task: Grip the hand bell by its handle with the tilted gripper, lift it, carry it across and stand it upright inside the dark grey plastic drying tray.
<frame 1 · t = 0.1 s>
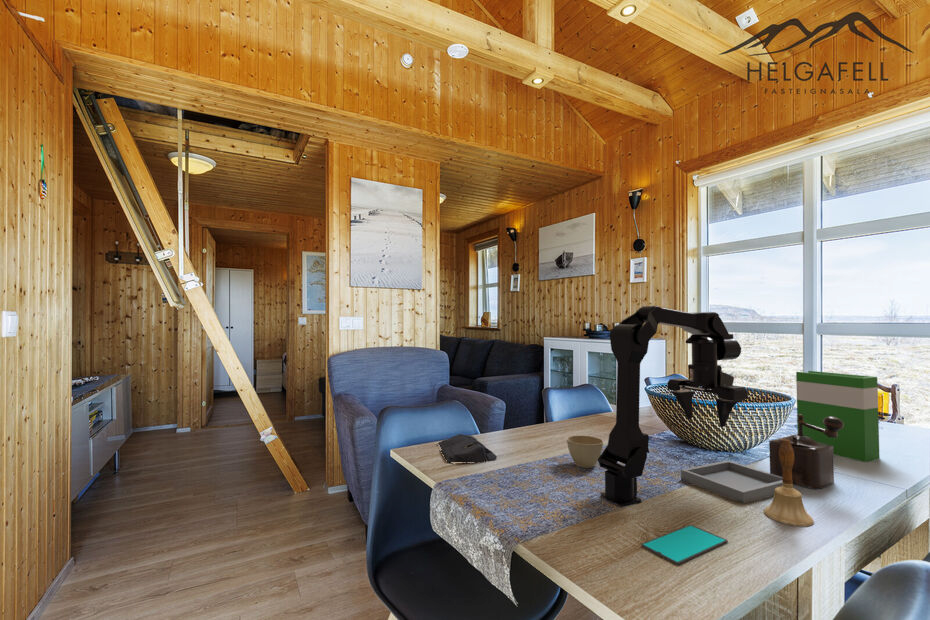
hand: (705, 422, 110), 15 cm above the table, tool pointing down, fingers open, 9 cm apart
drying tray: (734, 484, 107), on the table
hand bell: (788, 518, 89), on the table
dark slate chunk: (464, 454, 134), on the table
manual coffee grinder: (812, 484, 108), on the table
smartphone: (684, 547, 78), on the table
flower pot: (585, 465, 122), on the table
hardback book: (836, 452, 133), on the table
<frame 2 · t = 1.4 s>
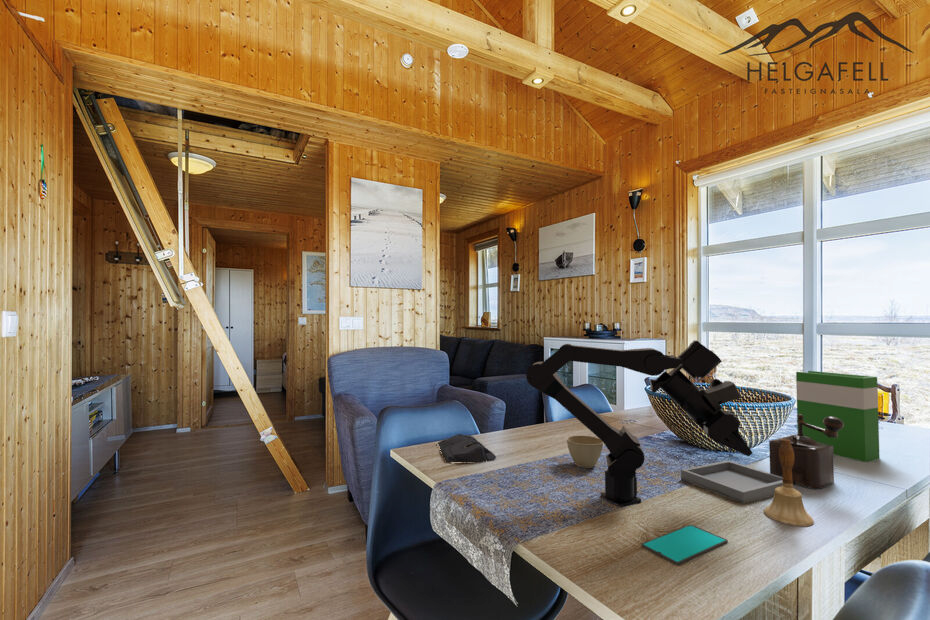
hand: (742, 448, 92), 13 cm above the table, tool tilted 45°, fingers open, 9 cm apart
nothing on the table moved.
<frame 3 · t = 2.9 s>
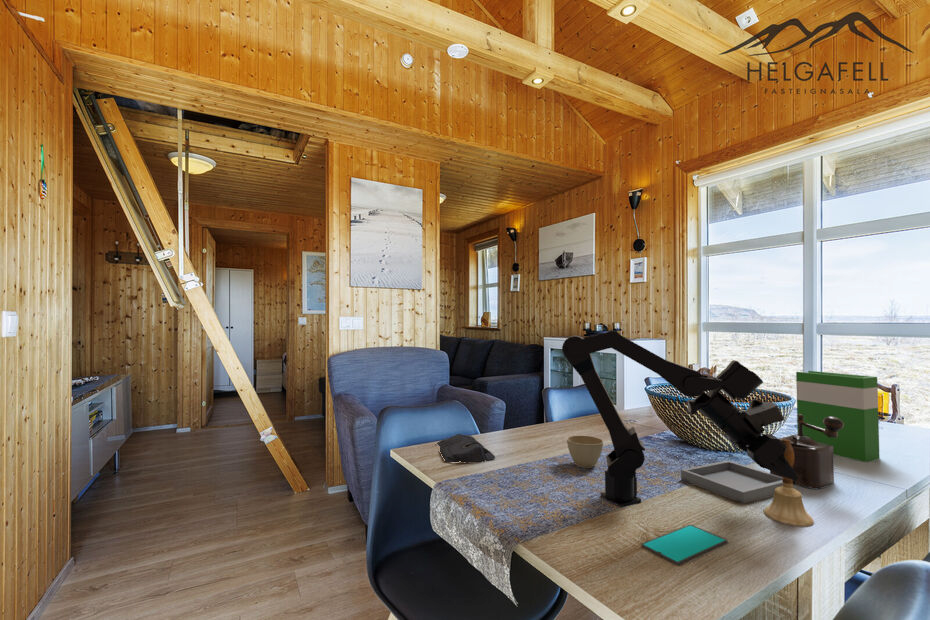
hand: (786, 471, 89), 9 cm above the table, tool tilted 45°, fingers open, 9 cm apart
nothing on the table moved.
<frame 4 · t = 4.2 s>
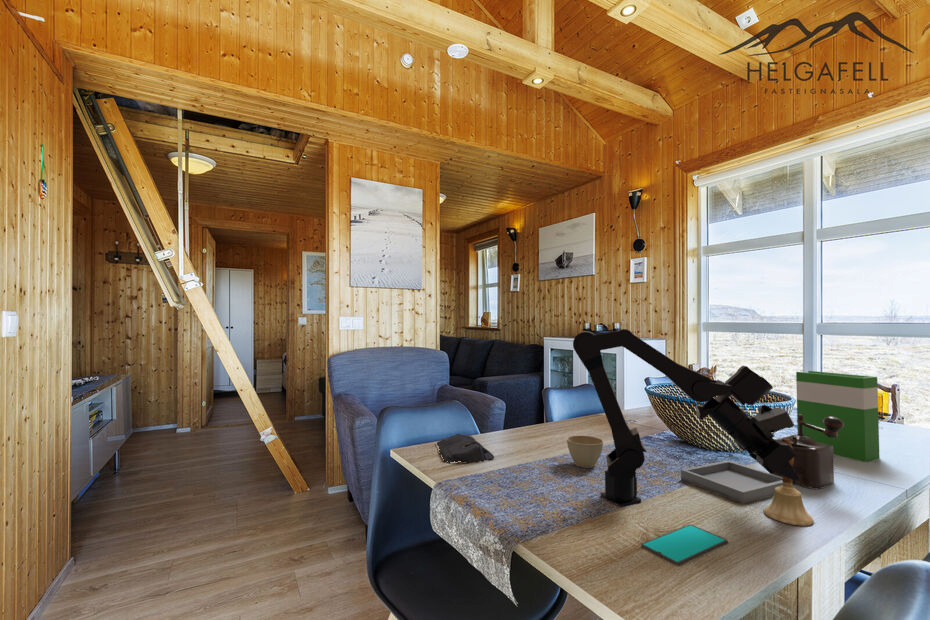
hand: (795, 477, 89), 8 cm above the table, tool tilted 45°, fingers closed on hand bell
hand bell: (788, 517, 89), on the table, touching gripper
everything else where it was.
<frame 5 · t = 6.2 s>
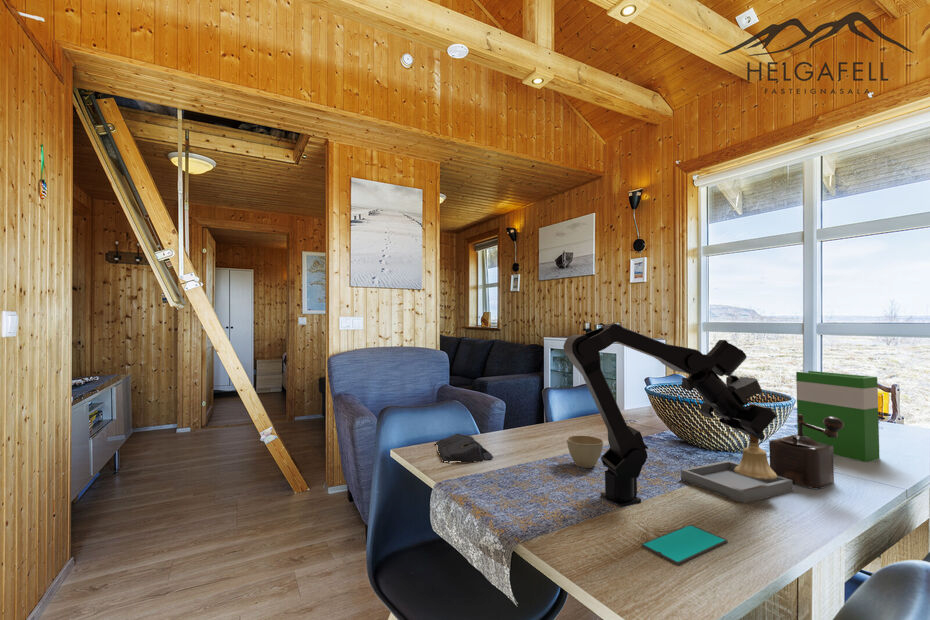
hand: (759, 437, 101), 13 cm above the table, tool tilted 45°, fingers closed on hand bell
hand bell: (755, 474, 100), point 5 cm above the table, touching gripper
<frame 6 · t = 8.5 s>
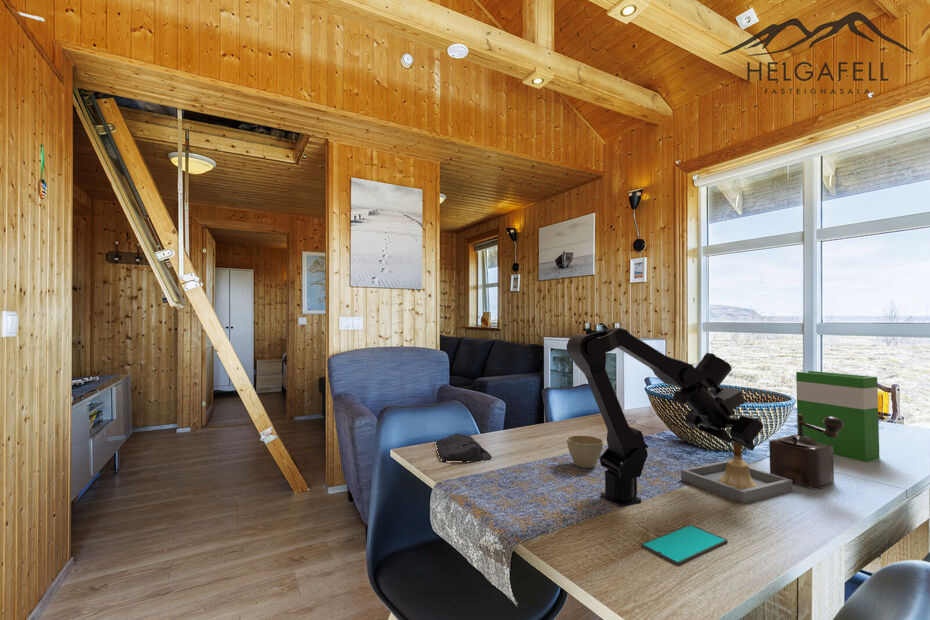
hand: (741, 445, 106), 10 cm above the table, tool tilted 45°, fingers open, 6 cm apart
hand bell: (737, 485, 105), resting on drying tray
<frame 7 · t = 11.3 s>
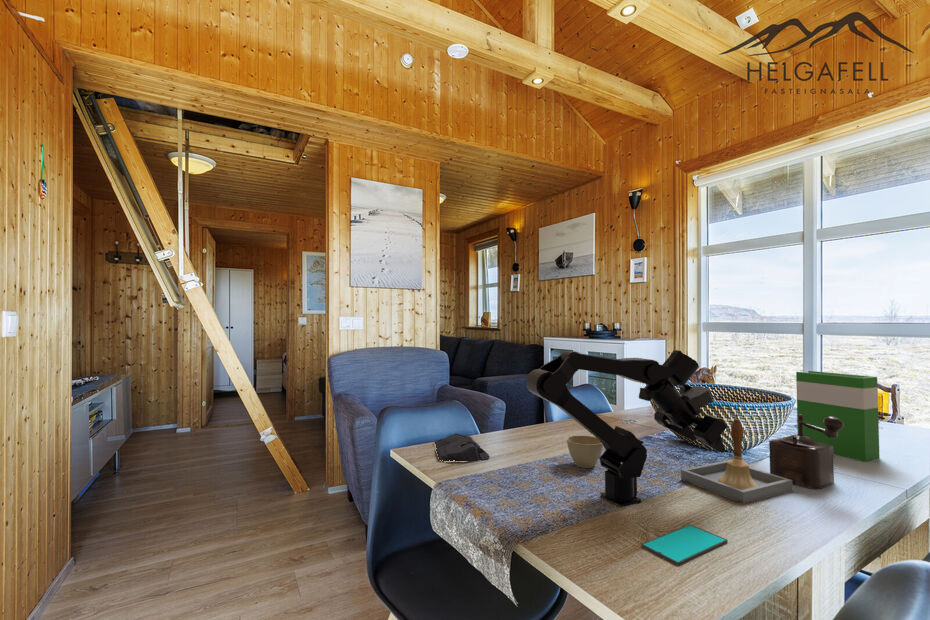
hand: (708, 445, 104), 11 cm above the table, tool tilted 45°, fingers open, 9 cm apart
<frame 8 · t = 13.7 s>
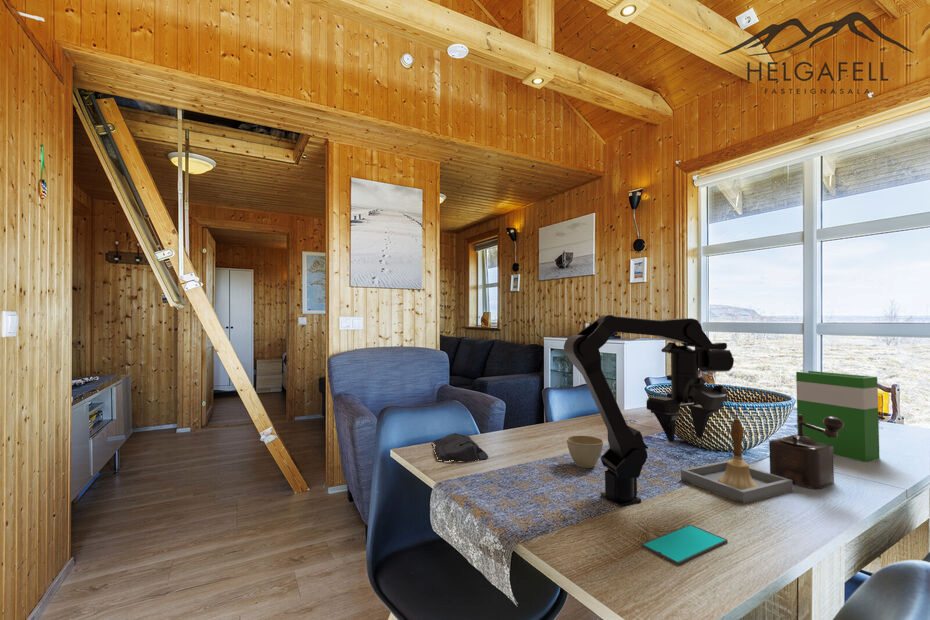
hand: (685, 439, 100), 13 cm above the table, tool pointing down, fingers open, 9 cm apart
at the end: hand bell inside the target area on the drying tray (1.5 cm from its centre), point 0.4 cm above the drying tray's base; hand bell tilted 0°; the gripper is holding nothing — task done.
